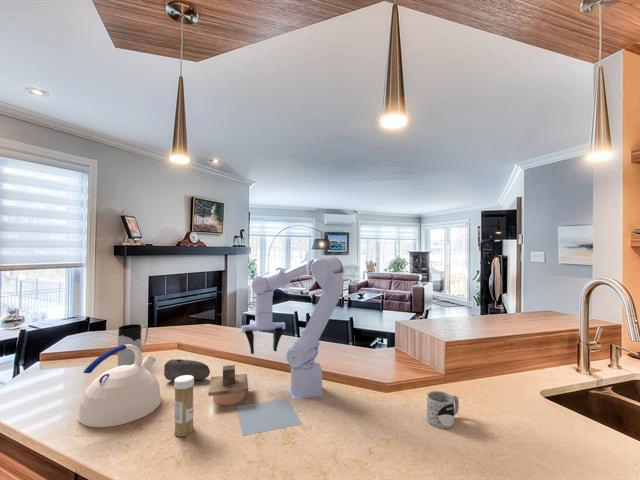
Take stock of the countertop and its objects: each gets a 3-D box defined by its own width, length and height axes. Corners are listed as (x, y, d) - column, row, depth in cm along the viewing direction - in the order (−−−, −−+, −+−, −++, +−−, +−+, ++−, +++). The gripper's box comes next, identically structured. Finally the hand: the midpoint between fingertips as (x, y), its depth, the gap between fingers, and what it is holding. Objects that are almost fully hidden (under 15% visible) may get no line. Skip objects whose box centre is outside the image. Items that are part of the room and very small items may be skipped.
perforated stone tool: (212, 377, 115) (212, 357, 115) (207, 383, 110) (207, 362, 110) (169, 377, 115) (169, 357, 115) (162, 383, 110) (162, 362, 110)
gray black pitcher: (110, 369, 122) (110, 329, 122) (137, 356, 136) (138, 320, 136) (131, 371, 121) (131, 330, 121) (156, 357, 135) (157, 321, 135)
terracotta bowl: (242, 390, 105) (242, 377, 105) (246, 403, 96) (246, 389, 96) (212, 394, 102) (212, 382, 102) (213, 408, 93) (213, 394, 93)
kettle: (177, 399, 99) (177, 339, 99) (108, 436, 80) (108, 362, 80) (132, 387, 107) (133, 332, 108) (60, 417, 89) (61, 350, 89)
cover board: (246, 376, 106) (247, 359, 106) (248, 391, 95) (248, 372, 95) (211, 380, 103) (211, 362, 103) (208, 396, 92) (208, 376, 92)
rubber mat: (287, 399, 99) (287, 398, 99) (302, 425, 85) (302, 423, 85) (236, 408, 94) (236, 406, 94) (242, 437, 79) (242, 435, 79)
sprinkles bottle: (195, 433, 81) (195, 379, 81) (175, 439, 79) (176, 383, 79) (191, 425, 85) (191, 372, 85) (172, 430, 82) (172, 376, 83)
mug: (441, 431, 82) (441, 405, 82) (421, 419, 88) (421, 394, 88) (468, 421, 87) (468, 396, 87) (448, 410, 93) (448, 386, 93)
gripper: (282, 307, 117) (281, 345, 117) (240, 310, 112) (240, 350, 112) (287, 311, 111) (286, 352, 110) (243, 314, 106) (242, 357, 105)
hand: (263, 351), depth 111 cm, fingers open, 7 cm apart
